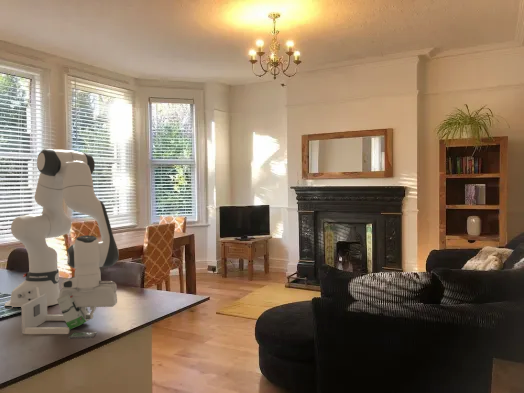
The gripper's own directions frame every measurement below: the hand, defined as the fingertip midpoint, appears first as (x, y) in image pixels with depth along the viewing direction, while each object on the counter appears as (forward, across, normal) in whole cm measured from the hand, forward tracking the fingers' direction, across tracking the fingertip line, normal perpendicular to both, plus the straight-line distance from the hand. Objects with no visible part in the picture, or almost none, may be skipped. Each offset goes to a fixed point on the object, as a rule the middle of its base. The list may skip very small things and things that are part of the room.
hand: (88, 318), depth 167 cm
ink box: (+2, +3, 0) cm, 4 cm away
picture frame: (+4, -2, +10) cm, 11 cm away
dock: (+3, +12, 0) cm, 12 cm away
